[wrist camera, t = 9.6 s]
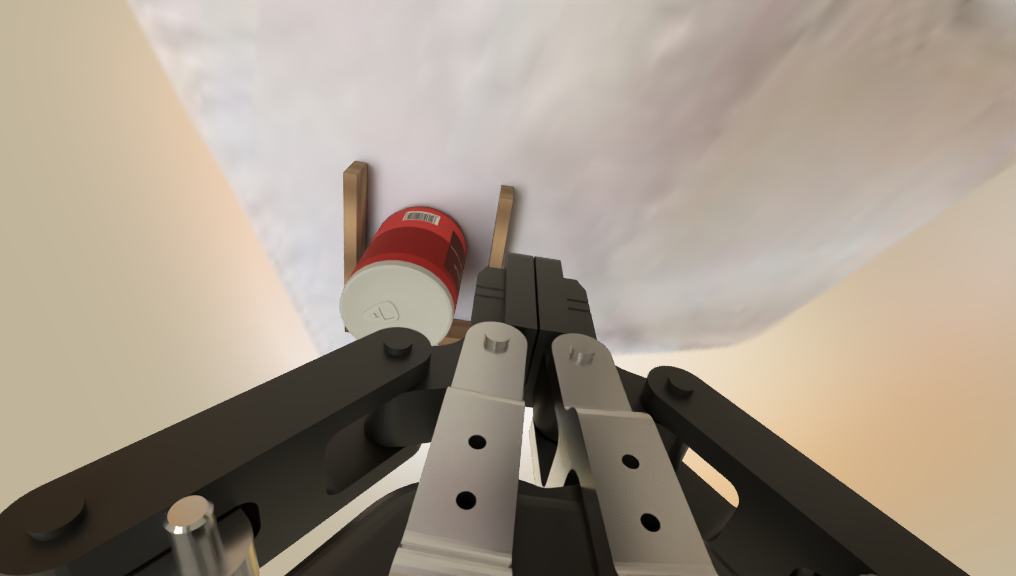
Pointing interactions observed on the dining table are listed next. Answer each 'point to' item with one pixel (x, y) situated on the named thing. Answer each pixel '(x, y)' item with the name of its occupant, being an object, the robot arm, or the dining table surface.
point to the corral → (357, 232)
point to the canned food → (407, 276)
